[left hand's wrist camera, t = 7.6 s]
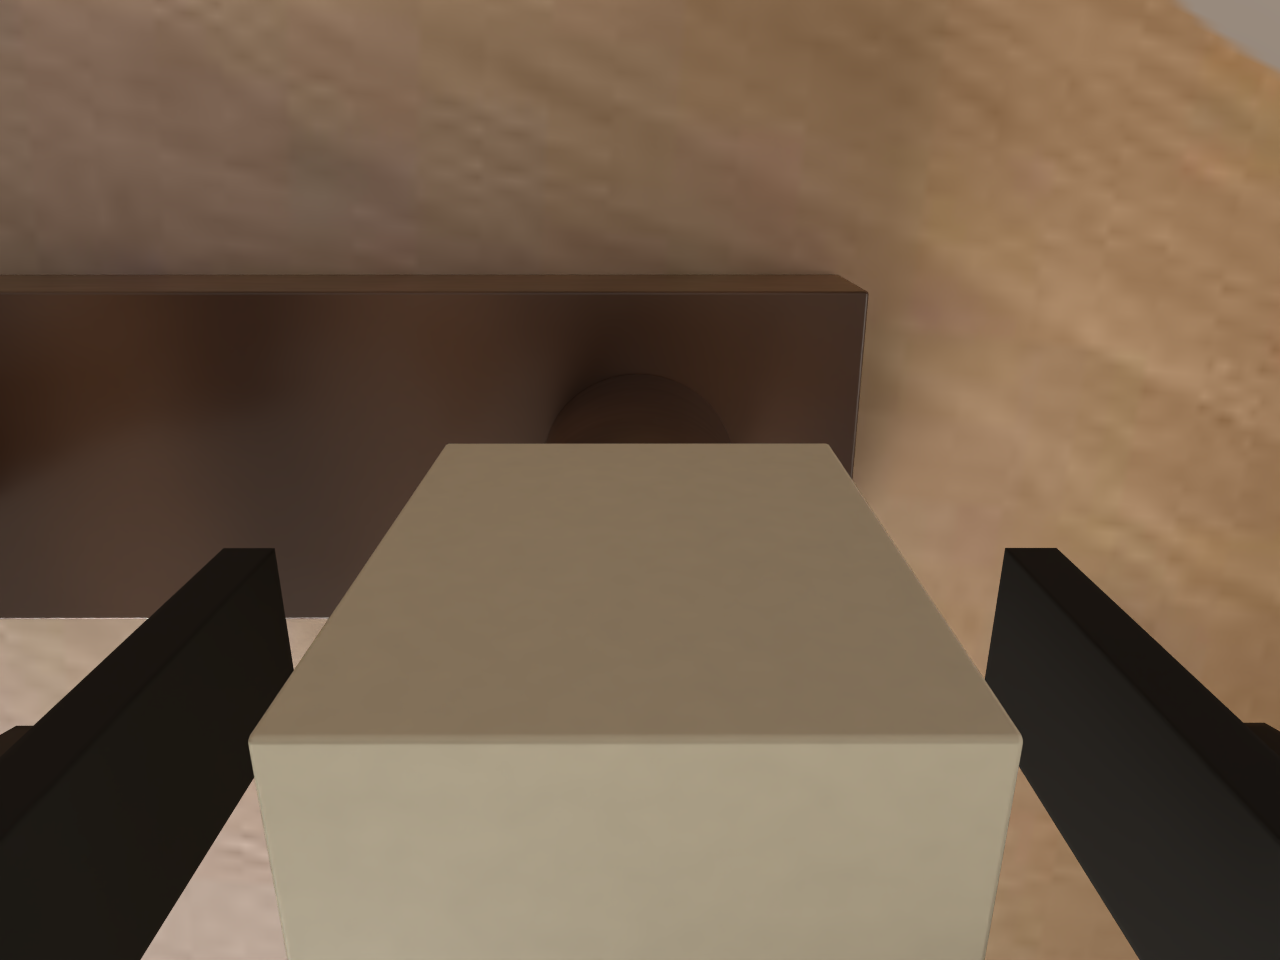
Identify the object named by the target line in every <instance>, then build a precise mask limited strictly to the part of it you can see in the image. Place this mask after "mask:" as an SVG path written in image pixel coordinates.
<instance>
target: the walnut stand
mask: <svg viewBox="0 0 1280 960" xmlns="http://www.w3.org/2000/svg"><path fill="white" fill-rule="evenodd" d="M867 306H868V292H867V291H865V290H863V289H862V288H860V287H858V286H856V285H855V284H853V283H851V282H849V281H848V280H846V279H844V278H843V277H841V276H839V275H0V619H148V618H149V617H150V616H151V615H152V614H154V613H155V612H156V611H157V610H158V609H159V608H160V607H161V606H162V605H163V604H164V603H165V602H166V601H167V600H169V599H170V598H171V597H172V596H173V595H174V594H175V593H176V592H177V591H178V590H179V589H180V588H181V587H182V586H184V585H185V584H186V583H187V582H188V581H189V580H190V579H191V578H192V577H193V576H194V575H195V574H196V573H197V572H198V571H200V570H201V569H202V568H203V567H204V566H205V565H206V564H207V563H208V562H209V561H210V560H211V559H212V558H213V557H215V556H216V555H217V554H218V553H219V552H220V551H221V550H222V549H223V548H275V553H276V559H277V566H278V572H279V579H280V585H281V592H282V598H283V605H284V611H285V617H286V619H329V618H330V616H331V615H332V613H333V612H334V610H335V609H336V607H337V606H338V604H339V603H340V601H341V600H342V598H343V597H344V595H345V594H346V592H347V591H348V589H349V588H350V586H351V585H352V583H353V582H354V581H355V579H356V578H357V576H358V575H359V573H360V572H361V570H362V569H363V567H364V566H365V564H366V563H367V561H368V560H369V558H370V557H371V555H372V554H373V552H374V551H375V549H376V548H377V546H378V545H379V543H380V542H381V541H382V539H383V538H384V536H385V535H386V533H387V532H388V530H389V529H390V527H391V526H392V524H393V523H394V521H395V520H396V518H397V517H398V515H399V514H400V512H401V511H402V509H403V508H404V506H405V505H406V504H407V502H408V501H409V499H410V498H411V496H412V495H413V493H414V492H415V490H416V489H417V487H418V486H419V484H420V483H421V481H422V480H423V478H424V477H425V475H426V474H427V472H428V471H429V469H430V468H431V466H432V465H433V464H434V462H435V461H436V459H437V458H438V456H439V455H440V453H441V452H442V450H443V449H444V447H445V446H446V445H447V444H828V445H829V446H830V447H831V449H832V450H833V452H834V453H835V455H836V456H837V458H838V459H839V461H840V462H841V464H842V465H843V467H844V469H845V470H846V472H847V473H848V475H849V476H850V478H851V479H852V477H853V466H854V455H855V443H856V432H857V420H858V409H859V397H860V386H861V374H862V363H863V352H864V340H865V329H866V317H867Z"/></svg>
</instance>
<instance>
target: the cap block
mask: <svg viewBox="0 0 1280 960" xmlns="http://www.w3.org/2000/svg"><path fill="white" fill-rule="evenodd" d="M248 745H249V750H250V756H251V761H252V767H253V772H254V778H255V783H256V789H257V794H258V800H259V805H260V811H261V816H262V822H263V828H264V833H265V839H266V844H267V850H268V855H269V861H270V866H271V872H272V877H273V883H274V888H275V894H276V899H277V905H278V910H279V916H280V921H281V927H282V932H283V938H284V943H285V949H286V954H287V960H985V954H986V949H987V943H988V937H989V932H990V926H991V920H992V915H993V909H994V903H995V898H996V892H997V887H998V881H999V875H1000V870H1001V864H1002V858H1003V853H1004V847H1005V841H1006V836H1007V830H1008V824H1009V819H1010V813H1011V807H1012V802H1013V796H1014V790H1015V785H1016V779H1017V773H1018V768H1019V762H1020V756H1021V751H1022V745H1023V739H1022V736H1021V734H1020V732H1019V731H1018V729H1017V728H1016V726H1015V725H1014V723H1013V722H1012V720H1011V719H1010V717H1009V716H1008V714H1007V713H1006V711H1005V710H1004V708H1003V707H1002V705H1001V704H1000V702H999V701H998V699H997V698H996V696H995V695H994V693H993V691H992V690H991V688H990V687H989V685H988V684H987V682H986V681H985V679H984V678H983V676H982V675H981V673H980V672H979V670H978V669H977V667H976V666H975V664H974V663H973V661H972V660H971V658H970V657H969V655H968V654H967V652H966V651H965V649H964V648H963V646H962V645H961V643H960V642H959V640H958V639H957V637H956V636H955V634H954V633H953V631H952V630H951V628H950V627H949V625H948V624H947V622H946V621H945V619H944V618H943V616H942V615H941V613H940V612H939V610H938V609H937V607H936V606H935V604H934V603H933V601H932V600H931V598H930V597H929V595H928V594H927V592H926V591H925V589H924V588H923V586H922V585H921V583H920V582H919V580H918V578H917V577H916V575H915V574H914V572H913V571H912V569H911V568H910V566H909V565H908V563H907V562H906V560H905V559H904V557H903V556H902V554H901V553H900V551H899V550H898V548H897V547H896V545H895V544H894V542H893V541H892V539H891V538H890V536H889V535H888V533H887V532H886V530H885V529H884V527H883V526H882V524H881V523H880V521H879V520H878V518H877V517H876V515H875V514H874V512H873V511H872V509H871V508H870V506H869V505H868V503H867V502H866V500H865V499H864V497H863V496H862V494H861V493H860V491H859V490H858V488H857V487H856V485H855V484H854V482H853V481H852V479H851V478H850V476H849V475H848V473H847V472H846V470H845V469H844V467H843V465H842V464H841V462H840V461H839V459H838V458H837V456H836V455H835V453H834V452H833V450H832V449H831V447H830V446H829V445H828V444H447V445H446V446H445V447H444V449H443V450H442V452H441V453H440V455H439V456H438V458H437V459H436V461H435V462H434V464H433V465H432V466H431V468H430V469H429V471H428V472H427V474H426V475H425V477H424V478H423V480H422V481H421V483H420V484H419V486H418V487H417V489H416V490H415V492H414V493H413V495H412V496H411V498H410V499H409V501H408V502H407V504H406V505H405V506H404V508H403V509H402V511H401V512H400V514H399V515H398V517H397V518H396V520H395V521H394V523H393V524H392V526H391V527H390V529H389V530H388V532H387V533H386V535H385V536H384V538H383V539H382V541H381V542H380V543H379V545H378V546H377V548H376V549H375V551H374V552H373V554H372V555H371V557H370V558H369V560H368V561H367V563H366V564H365V566H364V567H363V569H362V570H361V572H360V573H359V575H358V576H357V578H356V579H355V581H354V582H353V583H352V585H351V586H350V588H349V589H348V591H347V592H346V594H345V595H344V597H343V598H342V600H341V601H340V603H339V604H338V606H337V607H336V609H335V610H334V612H333V613H332V615H331V616H330V618H329V619H328V620H327V622H326V623H325V625H324V626H323V628H322V629H321V631H320V632H319V634H318V635H317V637H316V638H315V640H314V641H313V643H312V644H311V646H310V647H309V649H308V650H307V652H306V653H305V655H304V656H303V658H302V659H301V660H300V662H299V663H298V665H297V666H296V668H295V669H294V671H293V672H292V674H291V675H290V677H289V678H288V680H287V681H286V683H285V684H284V686H283V687H282V689H281V690H280V692H279V693H278V695H277V696H276V697H275V699H274V700H273V702H272V703H271V705H270V706H269V708H268V709H267V711H266V712H265V714H264V715H263V717H262V718H261V720H260V721H259V723H258V724H257V726H256V727H255V729H254V730H253V732H252V733H251V735H250V737H249V740H248Z"/></svg>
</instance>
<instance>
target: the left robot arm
mask: <svg viewBox="0 0 1280 960" xmlns="http://www.w3.org/2000/svg"><path fill="white" fill-rule="evenodd" d="M293 671H294V669H293V663H292V656H291V650H290V643H289V637H288V630H287V624H286V617H285V611H284V605H283V598H282V592H281V585H280V579H279V572H278V566H277V559H276V553H275V548H223V549H222V550H221V551H220V552H219V553H218V554H217V555H216V556H215V557H213V558H212V559H211V560H210V561H209V562H208V563H207V564H206V565H205V566H204V567H203V568H202V569H201V570H200V571H198V572H197V573H196V574H195V575H194V576H193V577H192V578H191V579H190V580H189V581H188V582H187V583H186V584H185V585H184V586H182V587H181V588H180V589H179V590H178V591H177V592H176V593H175V594H174V595H173V596H172V597H171V598H170V599H169V600H167V601H166V602H165V603H164V604H163V605H162V606H161V607H160V608H159V609H158V610H157V611H156V612H155V613H154V614H152V615H151V616H150V617H149V618H148V619H147V620H146V621H145V622H144V623H143V624H142V625H141V626H140V627H139V628H138V629H136V630H135V631H134V632H133V633H132V634H131V635H130V636H129V637H128V638H127V639H126V640H125V641H124V642H123V643H121V644H120V645H119V646H118V647H117V648H116V649H115V650H114V651H113V652H112V653H111V654H110V655H109V656H108V657H107V658H105V659H104V660H103V661H102V662H101V663H100V664H99V665H98V666H97V667H96V668H95V669H94V670H93V671H92V672H90V673H89V674H88V675H87V676H86V677H85V678H84V679H83V680H82V681H81V682H80V683H79V684H78V685H77V686H76V687H74V688H73V689H72V690H71V691H70V692H69V693H68V694H67V695H66V696H65V697H64V698H63V699H62V700H61V701H59V702H58V703H57V704H56V705H55V706H54V707H53V708H52V709H51V710H50V711H49V712H48V713H47V714H46V715H44V716H43V717H42V718H41V719H40V720H39V721H38V722H37V723H36V724H35V725H34V726H15V727H13V728H12V729H10V730H8V731H6V732H5V733H3V734H1V735H0V960H141V958H142V956H143V955H144V953H145V951H146V950H147V948H148V947H149V945H150V943H151V942H152V940H153V939H154V937H155V935H156V934H157V932H158V931H159V929H160V927H161V926H162V924H163V923H164V921H165V919H166V918H167V916H168V915H169V913H170V911H171V910H172V908H173V907H174V905H175V903H176V902H177V900H178V899H179V897H180V895H181V894H182V892H183V891H184V889H185V887H186V886H187V884H188V883H189V881H190V879H191V878H192V876H193V875H194V873H195V871H196V870H197V868H198V867H199V865H200V863H201V862H202V860H203V858H204V857H205V855H206V854H207V852H208V850H209V849H210V847H211V846H212V844H213V842H214V841H215V839H216V838H217V836H218V834H219V833H220V831H221V830H222V828H223V826H224V825H225V823H226V822H227V820H228V818H229V817H230V815H231V814H232V812H233V810H234V809H235V807H236V806H237V804H238V802H239V801H240V799H241V798H242V796H243V794H244V793H245V791H246V790H247V788H248V786H249V785H250V783H251V782H252V780H253V778H254V772H253V767H252V761H251V756H250V750H249V745H248V740H249V737H250V735H251V733H252V732H253V730H254V729H255V727H256V726H257V724H258V723H259V721H260V720H261V718H262V717H263V715H264V714H265V712H266V711H267V709H268V708H269V706H270V705H271V703H272V702H273V700H274V699H275V697H276V696H277V695H278V693H279V692H280V690H281V689H282V687H283V686H284V684H285V683H286V681H287V680H288V678H289V677H290V675H291V674H292V672H293ZM985 681H986V682H987V684H988V685H989V687H990V688H991V690H992V691H993V693H994V695H995V696H996V698H997V699H998V701H999V702H1000V704H1001V705H1002V707H1003V708H1004V710H1005V711H1006V713H1007V714H1008V716H1009V717H1010V719H1011V720H1012V722H1013V723H1014V725H1015V726H1016V728H1017V729H1018V731H1019V732H1020V734H1021V736H1022V739H1023V745H1022V751H1021V756H1020V762H1019V767H1020V769H1021V770H1022V772H1023V774H1024V775H1025V777H1026V778H1027V780H1028V782H1029V783H1030V785H1031V786H1032V788H1033V790H1034V791H1035V793H1036V794H1037V796H1038V798H1039V799H1040V801H1041V802H1042V804H1043V806H1044V807H1045V809H1046V810H1047V812H1048V814H1049V815H1050V817H1051V818H1052V820H1053V822H1054V823H1055V825H1056V826H1057V828H1058V830H1059V831H1060V833H1061V834H1062V836H1063V838H1064V839H1065V841H1066V842H1067V844H1068V846H1069V847H1070V849H1071V850H1072V852H1073V854H1074V855H1075V857H1076V859H1077V860H1078V862H1079V863H1080V865H1081V867H1082V868H1083V870H1084V871H1085V873H1086V875H1087V876H1088V878H1089V879H1090V881H1091V883H1092V884H1093V886H1094V887H1095V889H1096V891H1097V892H1098V894H1099V895H1100V897H1101V899H1102V900H1103V902H1104V903H1105V905H1106V907H1107V908H1108V910H1109V911H1110V913H1111V915H1112V916H1113V918H1114V919H1115V921H1116V923H1117V924H1118V926H1119V927H1120V929H1121V931H1122V932H1123V934H1124V935H1125V937H1126V939H1127V940H1128V942H1129V943H1130V945H1131V947H1132V948H1133V950H1134V952H1135V953H1136V955H1137V956H1138V958H1139V960H1280V731H1278V730H1276V729H1275V728H1273V727H1271V726H1269V725H1268V724H1266V723H1243V722H1242V721H1241V720H1240V719H1239V718H1238V717H1237V716H1235V715H1234V714H1233V713H1232V712H1231V711H1230V710H1229V709H1228V708H1227V707H1226V706H1225V705H1224V704H1223V703H1222V702H1221V701H1219V700H1218V699H1217V698H1216V697H1215V696H1214V695H1213V694H1212V693H1211V692H1210V691H1209V690H1208V689H1207V688H1206V687H1204V686H1203V685H1202V684H1201V683H1200V682H1199V681H1198V680H1197V679H1196V678H1195V677H1194V676H1193V675H1192V674H1191V673H1190V672H1188V671H1187V670H1186V669H1185V668H1184V667H1183V666H1182V665H1181V664H1180V663H1179V662H1178V661H1177V660H1176V659H1175V658H1173V657H1172V656H1171V655H1170V654H1169V653H1168V652H1167V651H1166V650H1165V649H1164V648H1163V647H1162V646H1161V645H1160V644H1158V643H1157V642H1156V641H1155V640H1154V639H1153V638H1152V637H1151V636H1150V635H1149V634H1148V633H1147V632H1146V631H1145V630H1144V629H1142V628H1141V627H1140V626H1139V625H1138V624H1137V623H1136V622H1135V621H1134V620H1133V619H1132V618H1131V617H1130V616H1129V615H1127V614H1126V613H1125V612H1124V611H1123V610H1122V609H1121V608H1120V607H1119V606H1118V605H1117V604H1116V603H1115V602H1114V601H1113V600H1111V599H1110V598H1109V597H1108V596H1107V595H1106V594H1105V593H1104V592H1103V591H1102V590H1101V589H1100V588H1099V587H1098V586H1096V585H1095V584H1094V583H1093V582H1092V581H1091V580H1090V579H1089V578H1088V577H1087V576H1086V575H1085V574H1084V573H1083V572H1082V571H1080V570H1079V569H1078V568H1077V567H1076V566H1075V565H1074V564H1073V563H1072V562H1071V561H1070V560H1069V559H1068V558H1067V557H1065V556H1064V555H1063V554H1062V553H1061V552H1060V551H1059V550H1058V549H1057V548H1005V553H1004V559H1003V566H1002V572H1001V579H1000V585H999V592H998V598H997V604H996V611H995V617H994V624H993V630H992V637H991V643H990V650H989V656H988V662H987V669H986V675H985Z"/></svg>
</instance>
